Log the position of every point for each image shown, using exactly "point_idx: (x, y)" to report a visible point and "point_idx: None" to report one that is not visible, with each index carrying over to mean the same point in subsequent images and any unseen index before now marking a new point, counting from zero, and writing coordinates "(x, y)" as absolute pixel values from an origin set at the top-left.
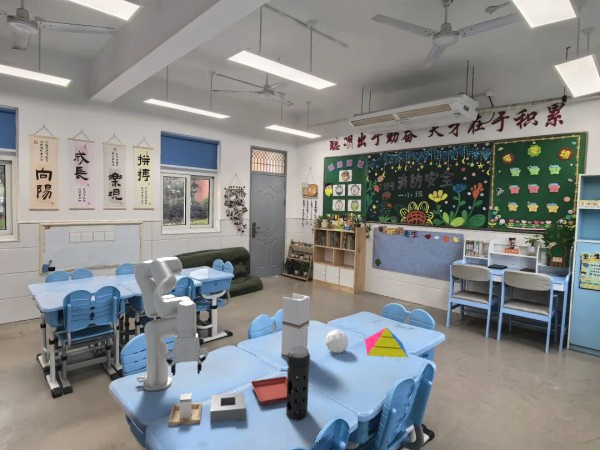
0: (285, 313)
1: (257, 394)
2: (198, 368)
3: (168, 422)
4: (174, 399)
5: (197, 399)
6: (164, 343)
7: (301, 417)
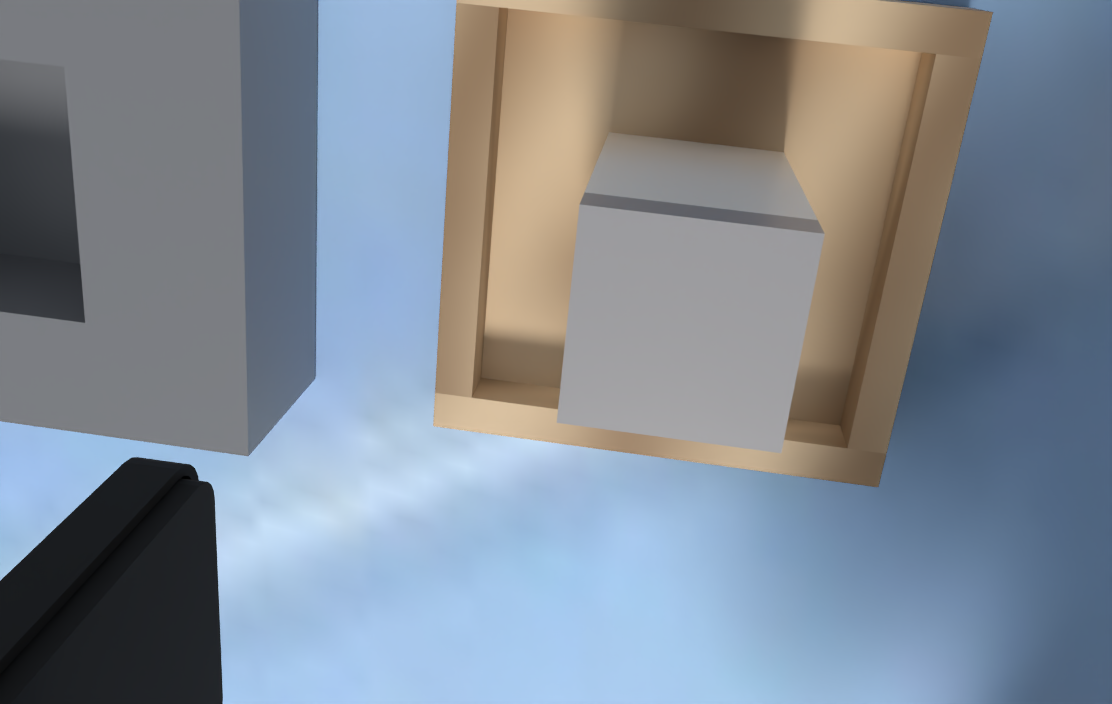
0: None
1: None
2: (25, 603)
3: (986, 13)
4: (824, 670)
5: (510, 583)
6: None
7: None
